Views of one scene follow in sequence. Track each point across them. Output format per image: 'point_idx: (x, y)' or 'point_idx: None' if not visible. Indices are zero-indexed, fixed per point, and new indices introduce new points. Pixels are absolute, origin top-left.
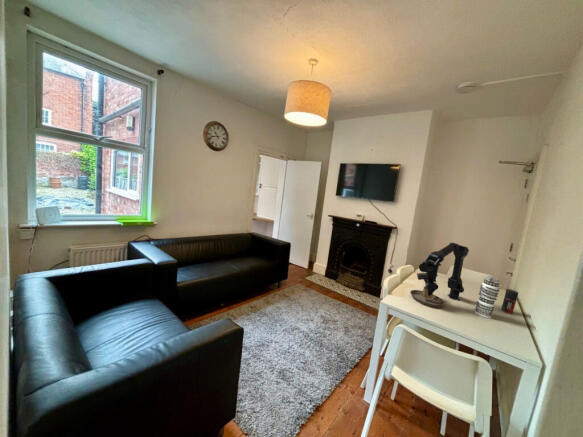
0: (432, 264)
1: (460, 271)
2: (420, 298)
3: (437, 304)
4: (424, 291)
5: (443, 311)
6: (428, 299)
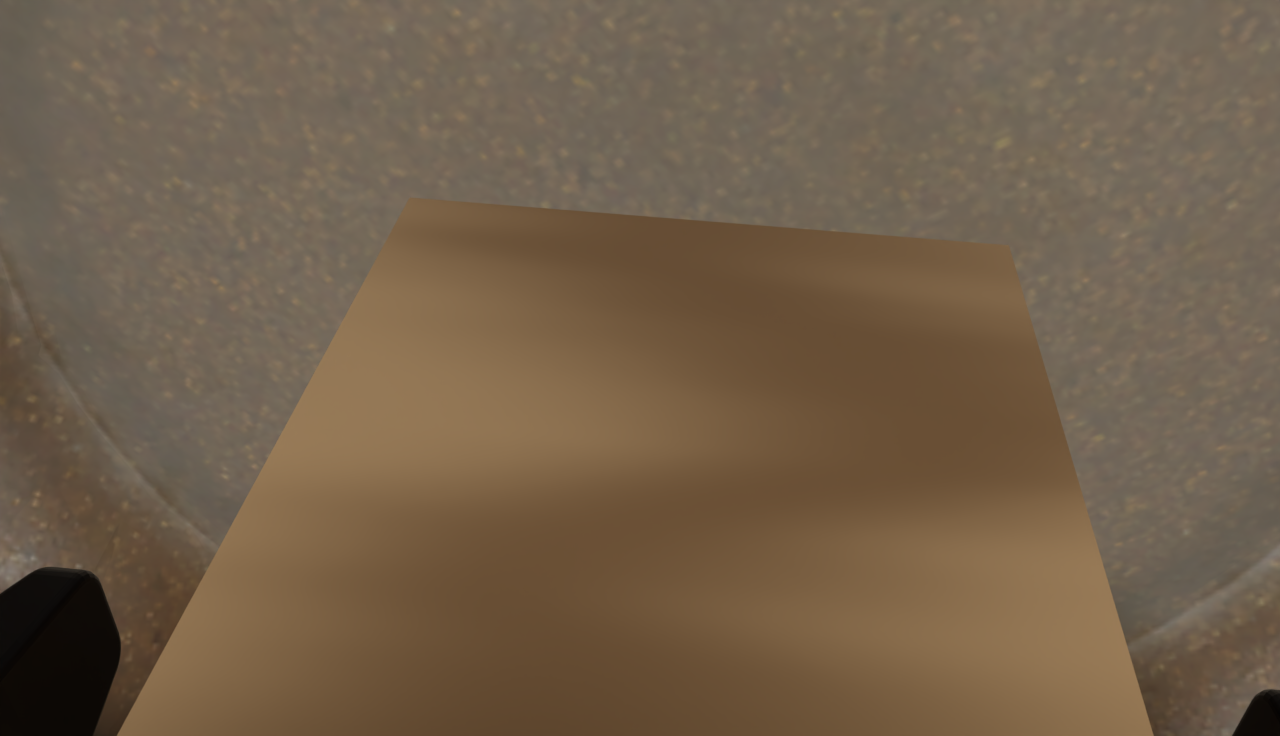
0: None
1: None
2: (765, 3)
3: None
4: (307, 525)
5: None
6: None
